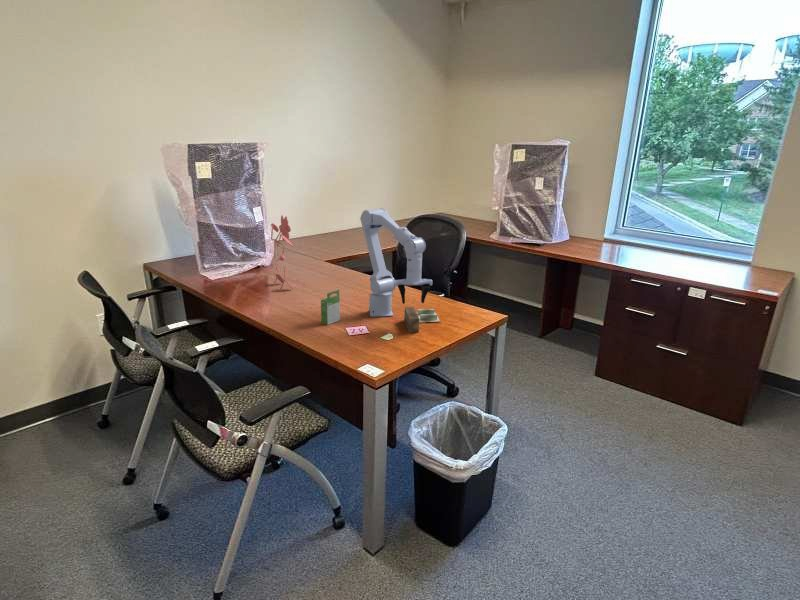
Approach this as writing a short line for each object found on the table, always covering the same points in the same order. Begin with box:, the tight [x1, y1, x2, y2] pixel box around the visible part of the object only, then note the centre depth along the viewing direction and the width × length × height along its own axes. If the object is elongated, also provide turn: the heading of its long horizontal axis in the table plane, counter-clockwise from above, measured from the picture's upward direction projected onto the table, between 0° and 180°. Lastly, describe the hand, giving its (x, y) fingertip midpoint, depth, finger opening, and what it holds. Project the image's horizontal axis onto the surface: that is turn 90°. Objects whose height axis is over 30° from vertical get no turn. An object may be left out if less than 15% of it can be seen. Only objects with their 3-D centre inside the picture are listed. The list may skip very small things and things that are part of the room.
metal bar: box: [403, 306, 420, 334], centre depth 191 cm, size 4×13×6 cm, turn 8°
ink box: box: [320, 289, 341, 326], centre depth 192 cm, size 7×4×13 cm, turn 141°
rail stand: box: [416, 308, 441, 324], centre depth 200 cm, size 9×10×3 cm
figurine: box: [270, 215, 305, 295], centre depth 230 cm, size 15×26×35 cm, turn 33°
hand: (413, 302), depth 189 cm, fingers open, 7 cm apart
